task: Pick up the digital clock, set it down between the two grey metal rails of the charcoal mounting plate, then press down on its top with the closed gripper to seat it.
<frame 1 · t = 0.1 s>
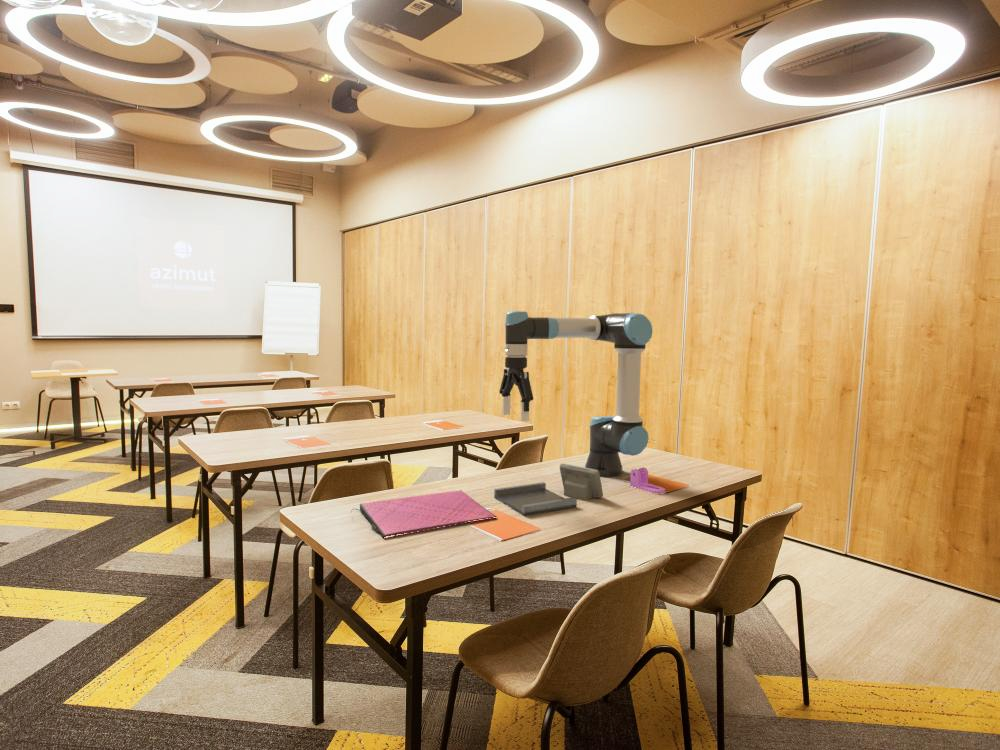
hand: (515, 417, 195), 28 cm above the table, tool pointing down, fingers open, 13 cm apart
bracket: (648, 490, 208), on the table
digital clock: (580, 495, 200), on the table
rail plate: (534, 502, 192), on the table
laptop bag: (421, 517, 178), on the table
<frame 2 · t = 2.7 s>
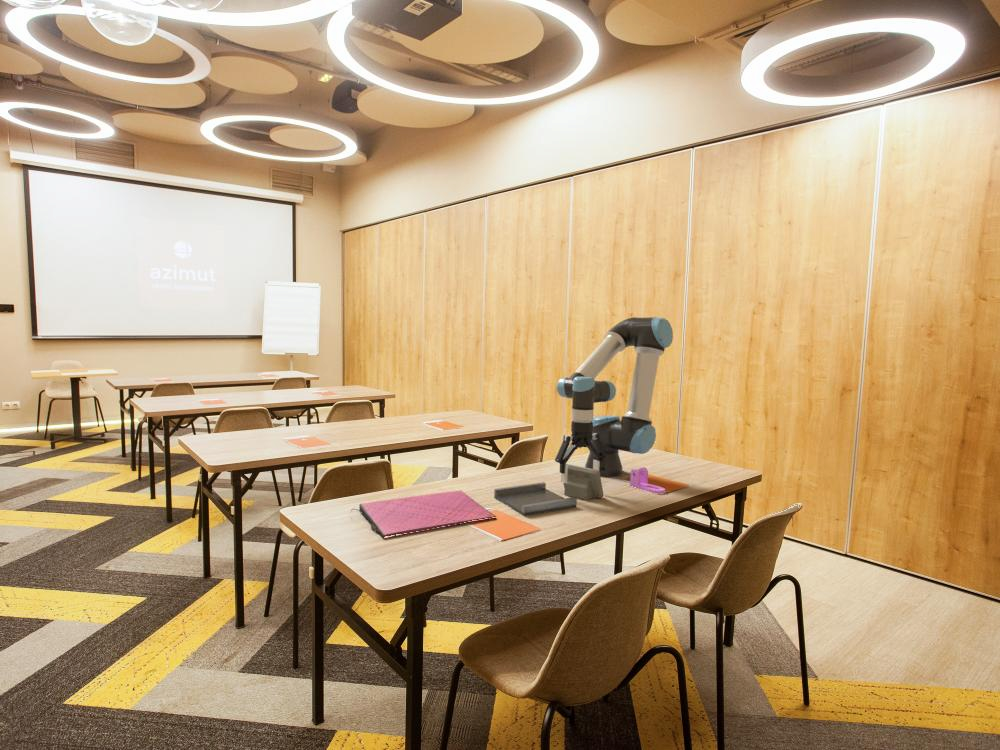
hand: (580, 480, 200), 5 cm above the table, tool pointing down, fingers open, 13 cm apart
nothing on the table moved.
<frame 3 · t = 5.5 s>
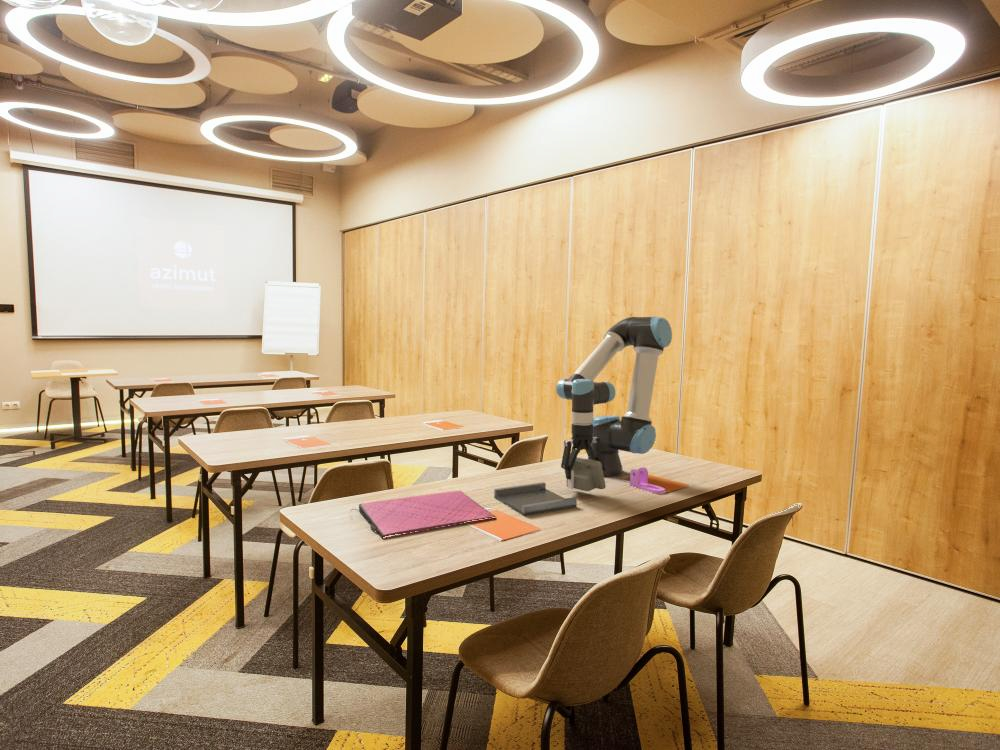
hand: (581, 485, 200), 3 cm above the table, tool pointing down, fingers closed on digital clock, 9 cm apart
digital clock: (583, 487, 201), point 3 cm above the table, touching gripper
everything else where it was.
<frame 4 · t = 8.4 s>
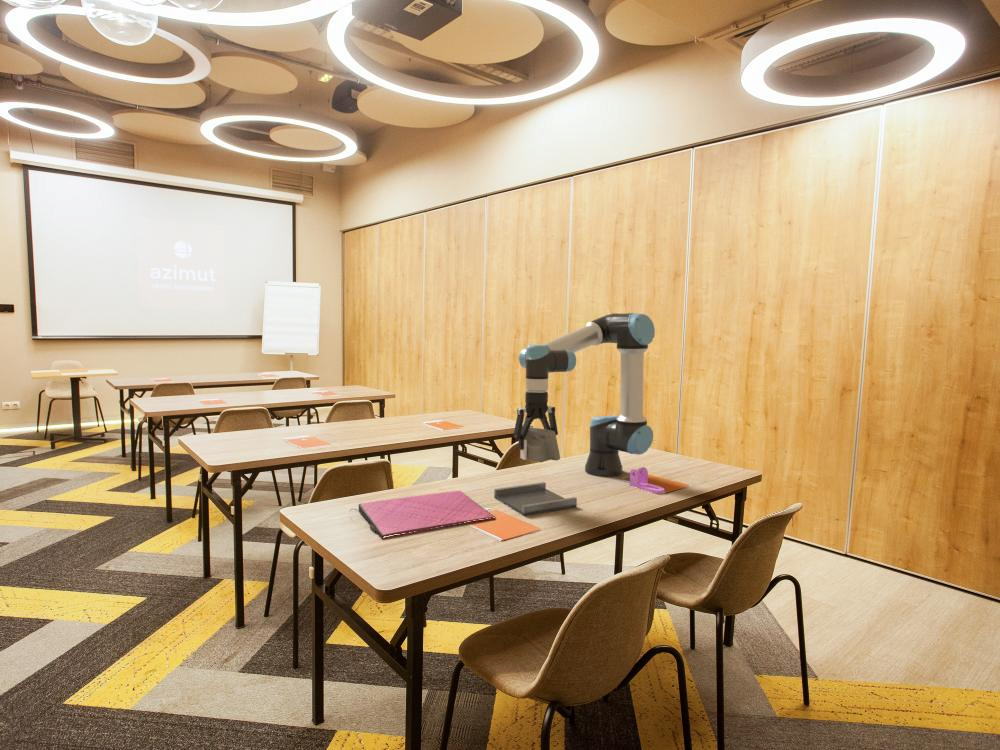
hand: (535, 457, 190), 15 cm above the table, tool pointing down, fingers closed on digital clock, 9 cm apart
digital clock: (537, 458, 191), point 15 cm above the table, touching gripper
everything else where it was.
when the fingers open (2 cm above the table, at t = 11.8 s): digital clock stays where it is, resting on rail plate.
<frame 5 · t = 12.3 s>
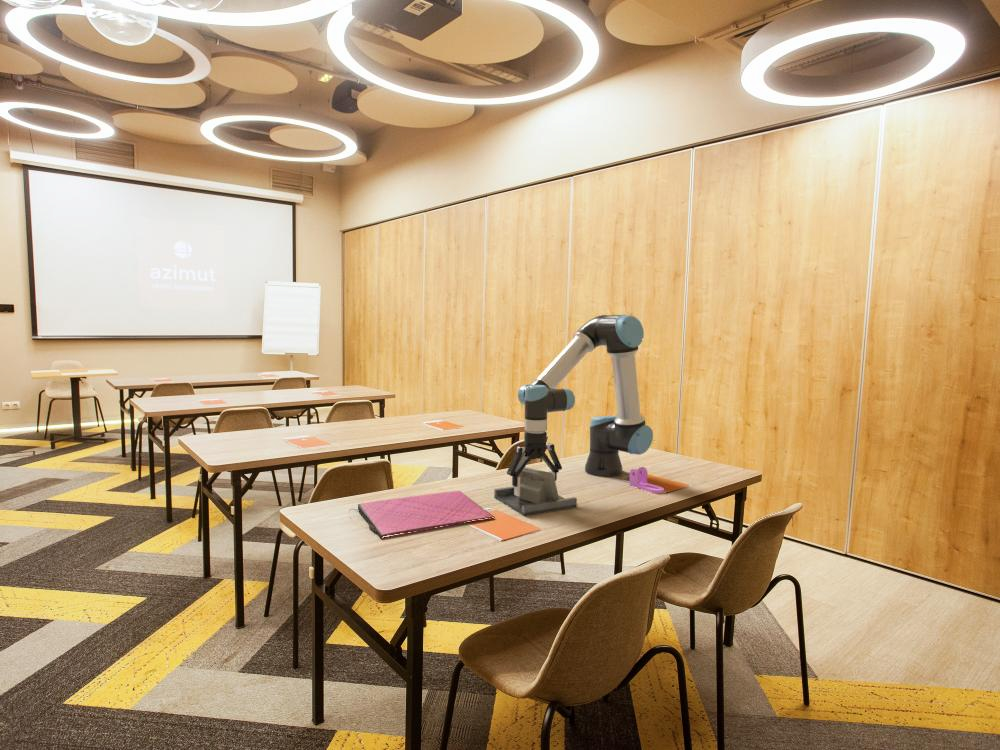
hand: (534, 493, 191), 3 cm above the table, tool pointing down, fingers open, 13 cm apart
digital clock: (536, 499, 192), point 1 cm above the table, touching rail plate
everything else where it was.
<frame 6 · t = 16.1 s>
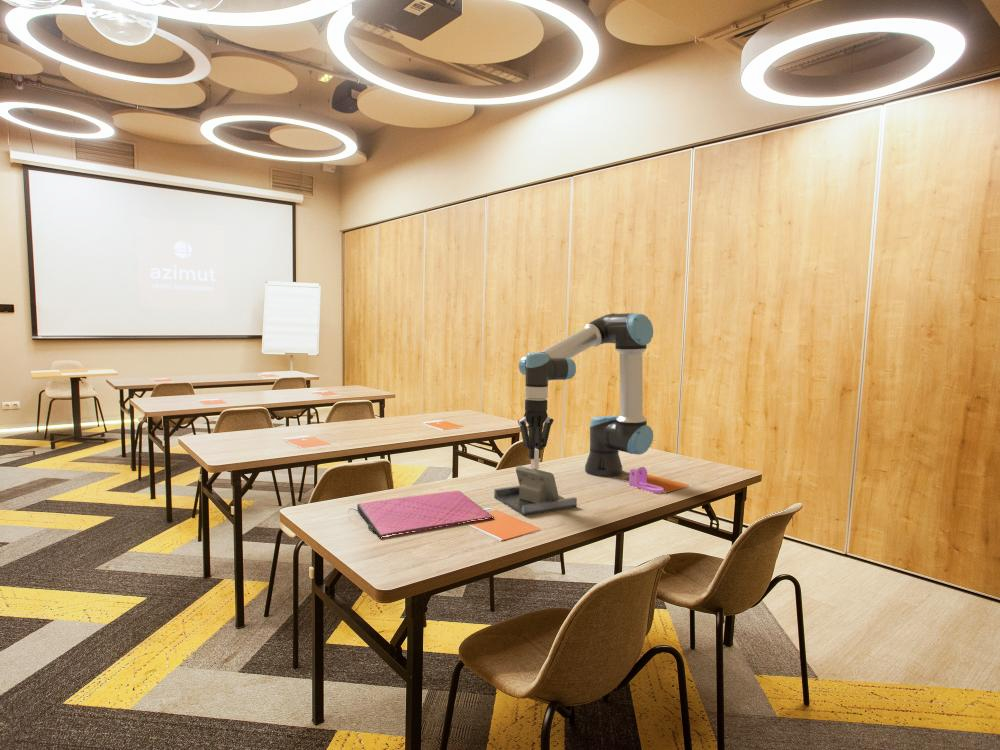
hand: (534, 468, 190), 12 cm above the table, tool pointing down, fingers closed
digital clock: (537, 499, 192), point 1 cm above the table, touching gripper, rail plate
everything else where it was.
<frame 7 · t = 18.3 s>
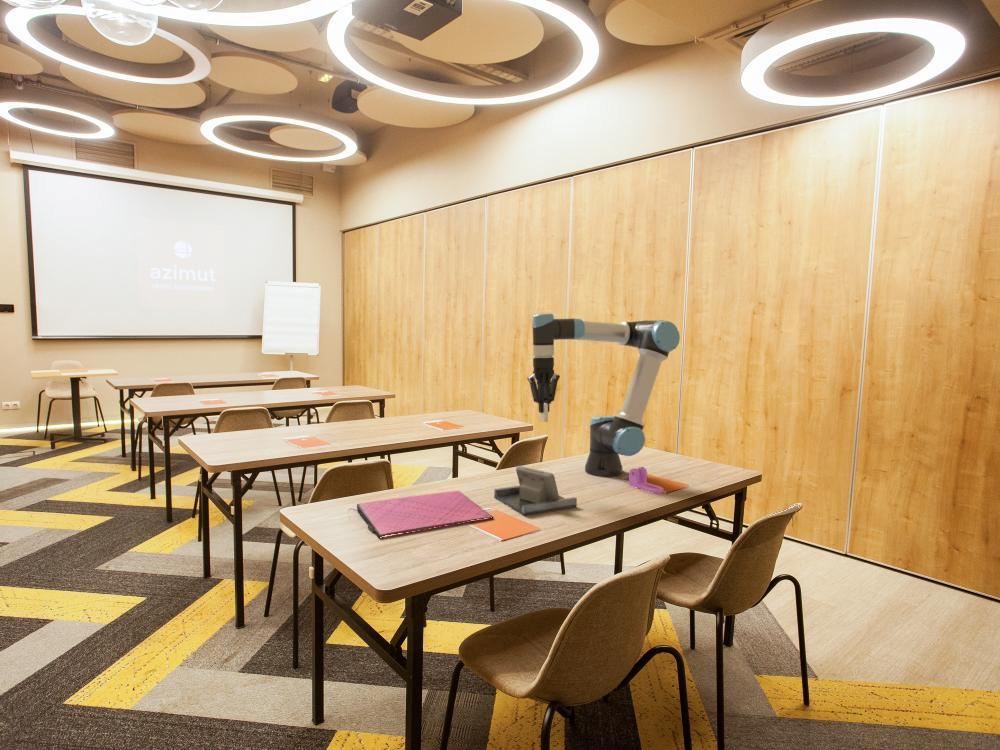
hand: (544, 421, 206), 25 cm above the table, tool pointing down, fingers closed
digital clock: (537, 499, 192), point 1 cm above the table, touching rail plate
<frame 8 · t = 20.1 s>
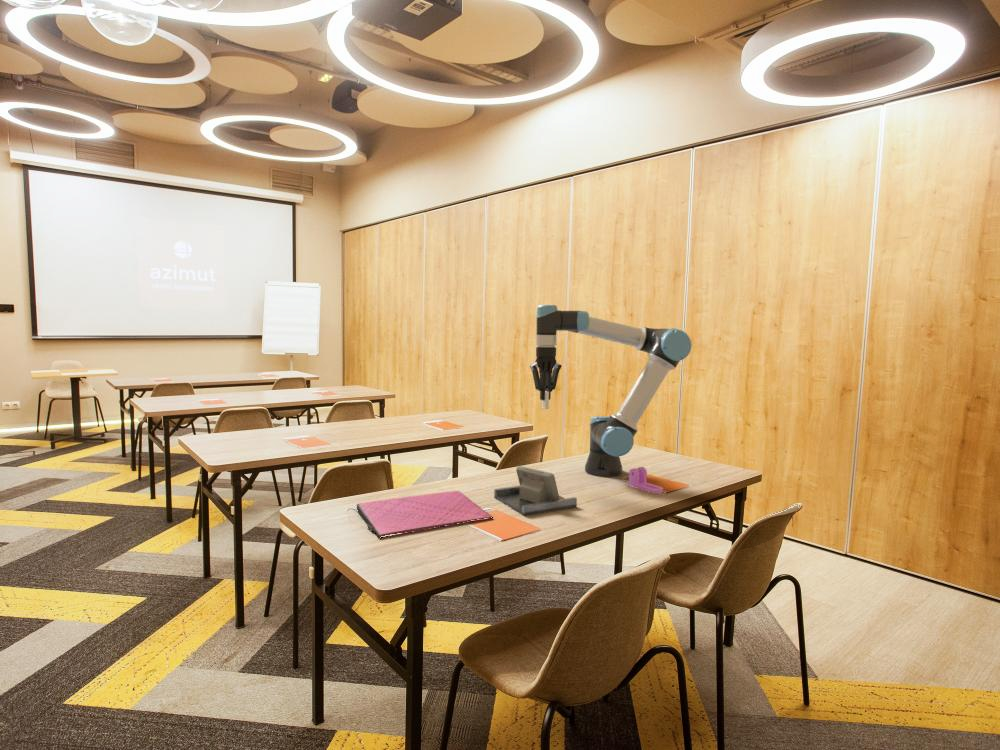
hand: (545, 408, 214), 28 cm above the table, tool pointing down, fingers closed
at the end: digital clock inside the target area on the rail plate (1.0 cm from its centre), point 0.8 cm above the rail plate's base; digital clock tilted 0°; the gripper is holding nothing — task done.
